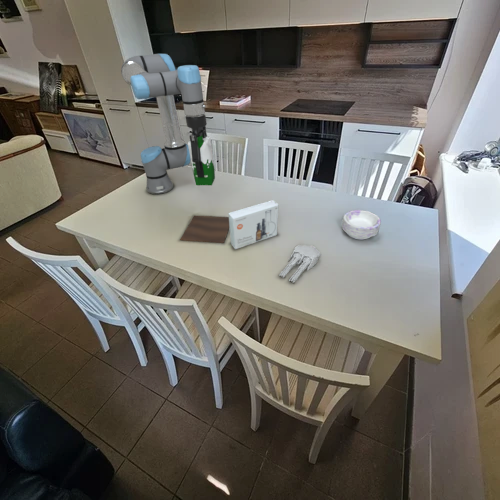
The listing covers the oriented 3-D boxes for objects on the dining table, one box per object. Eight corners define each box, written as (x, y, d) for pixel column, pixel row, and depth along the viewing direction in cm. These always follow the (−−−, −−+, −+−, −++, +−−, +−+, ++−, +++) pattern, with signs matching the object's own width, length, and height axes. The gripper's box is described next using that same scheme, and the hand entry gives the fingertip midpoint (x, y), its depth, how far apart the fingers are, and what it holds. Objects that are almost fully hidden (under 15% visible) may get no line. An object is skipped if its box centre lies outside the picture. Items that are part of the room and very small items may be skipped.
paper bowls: (351, 220, 131) (354, 205, 126) (382, 232, 122) (387, 217, 117) (333, 234, 123) (336, 219, 118) (365, 248, 114) (370, 233, 109)
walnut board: (194, 216, 140) (194, 215, 139) (233, 218, 137) (233, 217, 136) (180, 240, 124) (180, 239, 124) (223, 243, 121) (223, 242, 121)
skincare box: (235, 250, 117) (232, 218, 107) (230, 243, 121) (226, 212, 111) (278, 235, 124) (279, 204, 114) (271, 229, 128) (272, 198, 118)
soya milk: (193, 186, 118) (184, 138, 106) (198, 177, 125) (190, 130, 113) (213, 186, 117) (207, 137, 105) (217, 177, 124) (211, 130, 112)
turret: (275, 278, 107) (274, 270, 103) (302, 245, 116) (302, 237, 113) (297, 289, 101) (297, 281, 98) (324, 255, 111) (325, 246, 108)
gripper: (196, 122, 95) (205, 183, 110) (212, 107, 112) (218, 162, 126) (175, 123, 96) (187, 183, 111) (194, 108, 113) (202, 162, 127)
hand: (204, 172), depth 118 cm, fingers closed on soya milk, 9 cm apart
